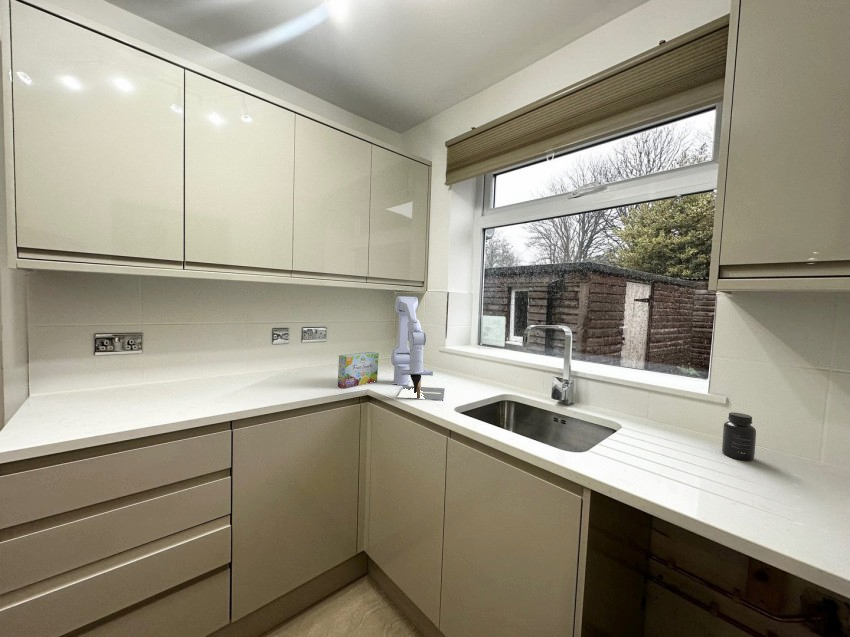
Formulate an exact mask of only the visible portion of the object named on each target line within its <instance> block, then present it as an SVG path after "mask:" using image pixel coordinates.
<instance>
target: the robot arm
mask: <svg viewBox="0 0 850 637" xmlns="http://www.w3.org/2000/svg"><path fill="white" fill-rule="evenodd" d="M394 304H395V309H394V310H395V312H396V313H398V335H397V337H398V339H397V346H395V347H394V348H393V349H392V351H391V358H390V361H391V364H392V366H394V368H393V382H392V383H391V385H392V384H397V385H396V386H409V384H410V383H411V381H412V384H413V386H414V393H416V389H417V386H418V383H419V381H420V379H421V380H422V376H430V377H433V376H434V370H429V369H428V370H427V369H424V351H425V350H424V347H425V346H426V342H427V335H426V332H425V331H424V330H422V326H421V321H420V320H419V319H418V318H417V312H416V311H417V309H418V307H419V306H418V305H419V299H418V297H417V296H404V295H403V296H402V295H401V296H400V295H397V297H396V298H395V303H394ZM409 376H410V379H411V380H409ZM409 382H410V383H409Z"/></svg>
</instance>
